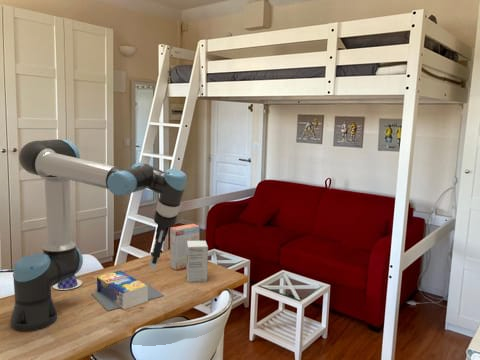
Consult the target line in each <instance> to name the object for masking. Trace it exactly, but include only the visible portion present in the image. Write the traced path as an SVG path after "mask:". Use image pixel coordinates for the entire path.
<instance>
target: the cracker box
mask: <svg viewBox="0 0 480 360" xmlns="http://www.w3.org/2000/svg"><path fill="white" fill-rule="evenodd" d="M169 231H170V232H169V234H170V235H169V239H170V241H169V242H170V243H169V245H170V246H169V247H170V249H169V250H170V259H169V260H170V263H169V264H170V268H171V269H173V270H174V271H180V270H184V269H187V241H200V225H198V224H195V223H188V224H184V225H179V226H172V227H169Z"/></svg>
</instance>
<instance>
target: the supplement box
mask: <svg viewBox="0 0 480 360" xmlns="http://www.w3.org/2000/svg"><path fill="white" fill-rule="evenodd" d="M208 251H209V246H208V244H207V241H206V240H199V241H187V268H186V272H185V273H186V280H187V282H189V283H191V282H192V283H193V282H196V281H197V282H208V257H209V256H208V253H209V252H208Z"/></svg>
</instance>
